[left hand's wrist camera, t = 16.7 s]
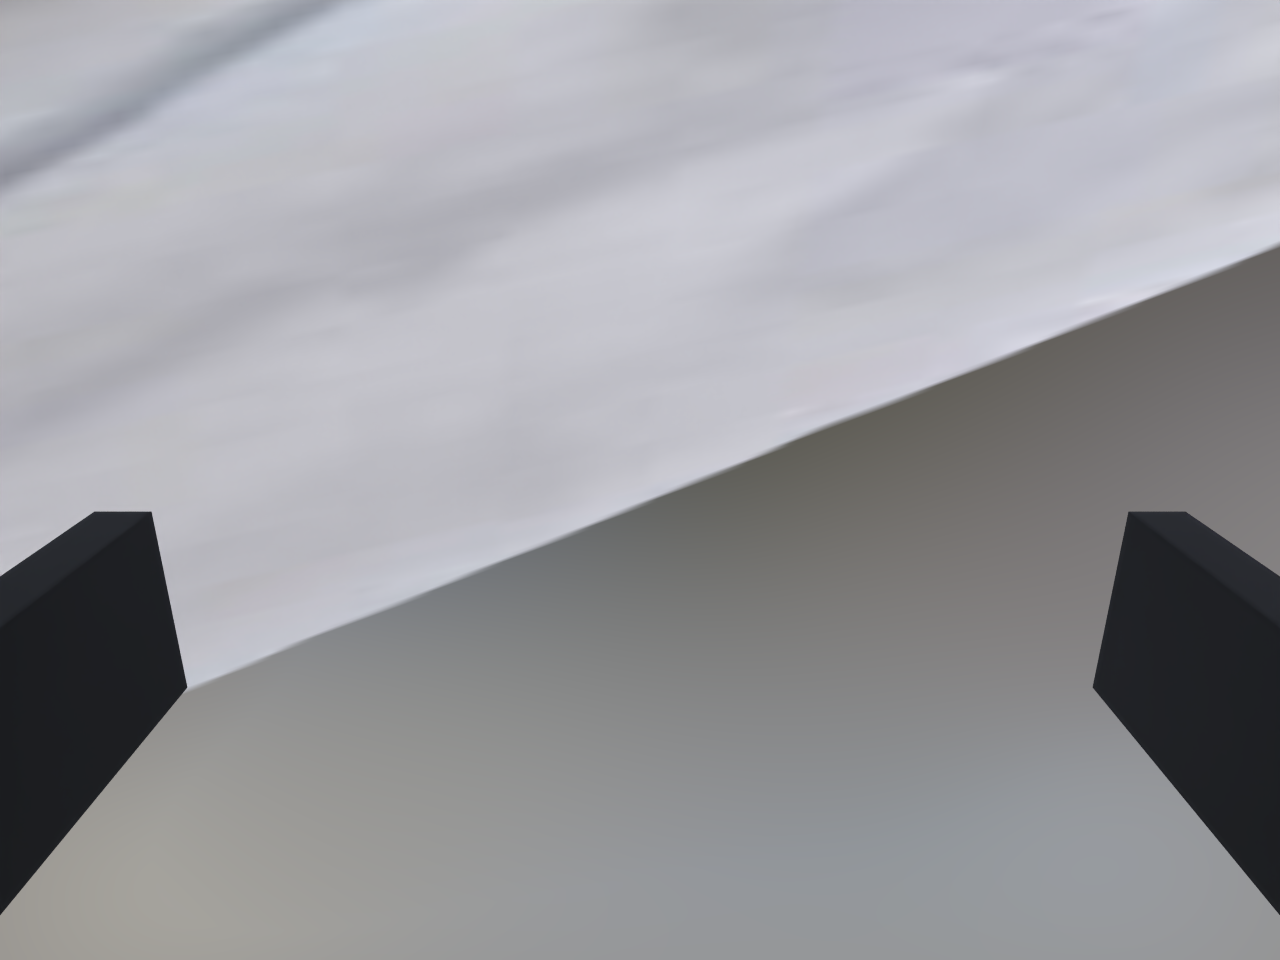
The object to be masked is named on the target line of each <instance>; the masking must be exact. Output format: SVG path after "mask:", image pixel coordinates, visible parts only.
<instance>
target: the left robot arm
mask: <svg viewBox="0 0 1280 960" xmlns="http://www.w3.org/2000/svg"><path fill="white" fill-rule="evenodd" d="M186 688H187V684H186V679H185V674H184V669H183V664H182V659H181V654H180V649H179V644H178V639H177V635H176V630H175V625H174V620H173V615H172V610H171V605H170V600H169V595H168V590H167V586H166V581H165V576H164V571H163V566H162V561H161V556H160V551H159V546H158V541H157V536H156V532H155V527H154V522H153V517H152V512H93V513H92V514H90V515H89V516H87V517H86V518H85V519H83V520H82V521H80V522H79V523H77V524H76V525H74V526H73V527H71V528H70V529H69V530H67V531H66V532H64V533H63V534H61V535H60V536H58V537H57V538H55V539H54V540H53V541H51V542H50V543H48V544H47V545H45V546H44V547H42V548H41V549H40V550H38V551H37V552H35V553H34V554H32V555H31V556H29V557H28V558H26V559H25V560H24V561H22V562H21V563H19V564H18V565H16V566H15V567H13V568H12V569H10V570H9V571H8V572H6V573H5V574H3V575H2V576H0V915H1V913H2V912H3V911H4V910H5V909H6V907H7V906H8V905H9V904H10V903H11V901H12V900H13V899H14V898H15V896H16V895H17V894H18V893H19V892H20V890H21V889H22V888H23V887H24V885H25V884H26V883H27V882H28V881H29V879H30V878H31V877H32V876H33V874H34V873H35V872H36V871H37V870H38V868H39V867H40V866H41V865H42V864H43V862H44V861H45V860H46V859H47V857H48V856H49V855H50V854H51V853H52V851H53V850H54V849H55V848H56V847H57V845H58V844H59V843H60V842H61V840H62V839H63V838H64V837H65V836H66V834H67V833H68V832H69V831H70V829H71V828H72V827H73V826H74V825H75V823H76V822H77V821H78V820H79V818H80V817H81V816H82V815H83V814H84V812H85V811H86V810H87V809H88V808H89V806H90V805H91V804H92V803H93V802H94V800H95V799H96V798H97V797H98V795H99V794H100V793H101V792H102V791H103V789H104V788H105V787H106V786H107V784H108V783H109V782H110V781H111V780H112V778H113V777H114V776H115V775H116V774H117V772H118V771H119V770H120V769H121V767H122V766H123V765H124V764H125V763H126V761H127V760H128V759H129V758H130V757H131V755H132V754H133V753H134V752H135V750H136V749H137V748H138V747H139V745H140V744H141V743H142V742H143V741H144V739H145V738H146V737H147V736H148V735H149V733H150V732H151V731H152V730H153V729H154V727H155V726H156V725H157V724H158V722H159V721H160V720H161V719H162V718H163V716H164V715H165V714H166V713H167V711H168V710H169V709H170V708H171V707H172V705H173V704H174V703H175V702H176V701H177V699H178V698H179V697H180V696H181V694H182V693H183V692H184V691H185V690H186ZM1093 688H1094V690H1095V691H1096V692H1097V693H1098V694H1099V696H1100V697H1101V698H1102V699H1103V700H1104V702H1105V703H1106V704H1107V705H1108V707H1109V708H1110V709H1111V710H1112V711H1113V713H1114V714H1115V715H1116V716H1117V718H1118V719H1119V720H1120V721H1121V722H1122V724H1123V725H1124V726H1125V727H1126V729H1127V730H1128V731H1129V732H1130V733H1131V735H1132V736H1133V737H1134V738H1135V739H1136V741H1137V742H1138V743H1139V744H1140V745H1141V747H1142V748H1143V749H1144V750H1145V752H1146V753H1147V754H1148V755H1149V757H1150V758H1151V759H1152V760H1153V761H1154V763H1155V764H1156V765H1157V766H1158V767H1159V769H1160V770H1161V771H1162V772H1163V774H1164V775H1165V776H1166V777H1167V778H1168V780H1169V781H1170V782H1171V783H1172V784H1173V786H1174V787H1175V788H1176V789H1177V791H1178V792H1179V793H1180V794H1181V795H1182V797H1183V798H1184V799H1185V800H1186V802H1187V803H1188V804H1189V805H1190V806H1191V808H1192V809H1193V810H1194V811H1195V812H1196V814H1197V815H1198V816H1199V817H1200V819H1201V820H1202V821H1203V822H1204V823H1205V825H1206V826H1207V827H1208V828H1209V830H1210V831H1211V832H1212V833H1213V834H1214V836H1215V837H1216V838H1217V839H1218V840H1219V842H1220V843H1221V844H1222V845H1223V847H1224V848H1225V849H1226V850H1227V851H1228V853H1229V854H1230V855H1231V856H1232V857H1233V859H1234V860H1235V861H1236V862H1237V864H1238V865H1239V866H1240V867H1241V868H1242V870H1243V871H1244V872H1245V873H1246V875H1247V876H1248V877H1249V878H1250V879H1251V881H1252V882H1253V883H1254V884H1255V885H1256V887H1257V888H1258V889H1259V890H1260V892H1261V893H1262V894H1263V895H1264V896H1265V898H1266V899H1267V900H1268V901H1269V903H1270V904H1271V905H1272V906H1273V907H1274V909H1275V910H1276V911H1277V912H1278V913H1279V915H1280V576H1278V575H1277V574H1275V573H1274V572H1272V571H1271V570H1270V569H1268V568H1267V567H1265V566H1264V565H1262V564H1261V563H1259V562H1258V561H1256V560H1255V559H1254V558H1252V557H1251V556H1249V555H1248V554H1246V553H1245V552H1243V551H1242V550H1240V549H1239V548H1238V547H1236V546H1235V545H1233V544H1232V543H1230V542H1229V541H1227V540H1226V539H1225V538H1223V537H1222V536H1220V535H1219V534H1217V533H1216V532H1214V531H1213V530H1211V529H1210V528H1209V527H1207V526H1206V525H1204V524H1203V523H1201V522H1200V521H1198V520H1197V519H1195V518H1194V517H1192V516H1191V515H1190V514H1188V513H1187V512H1128V517H1127V522H1126V527H1125V532H1124V536H1123V542H1122V546H1121V551H1120V556H1119V561H1118V566H1117V571H1116V576H1115V581H1114V586H1113V590H1112V595H1111V600H1110V605H1109V610H1108V615H1107V620H1106V625H1105V630H1104V635H1103V640H1102V644H1101V649H1100V654H1099V659H1098V664H1097V669H1096V674H1095V679H1094V684H1093Z"/></svg>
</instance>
